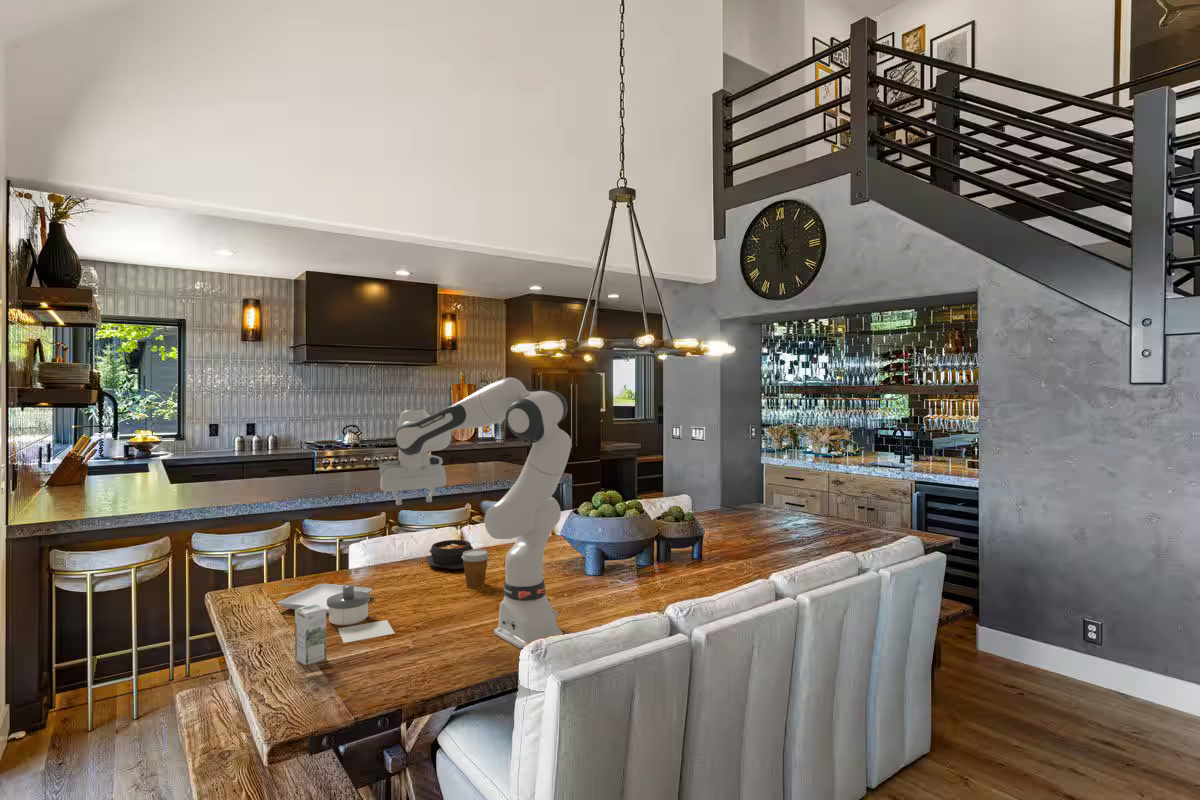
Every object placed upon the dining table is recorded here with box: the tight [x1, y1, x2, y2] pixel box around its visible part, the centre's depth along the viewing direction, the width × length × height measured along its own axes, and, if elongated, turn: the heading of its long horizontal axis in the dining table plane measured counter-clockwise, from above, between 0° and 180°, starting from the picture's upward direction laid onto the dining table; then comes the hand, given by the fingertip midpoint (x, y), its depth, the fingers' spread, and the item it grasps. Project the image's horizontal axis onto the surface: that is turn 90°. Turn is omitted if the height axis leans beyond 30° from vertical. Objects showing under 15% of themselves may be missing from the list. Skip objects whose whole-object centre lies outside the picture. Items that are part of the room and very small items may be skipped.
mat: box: [337, 619, 396, 644], centre depth 193 cm, size 12×14×1 cm
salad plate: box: [277, 583, 372, 615], centre depth 219 cm, size 21×21×3 cm
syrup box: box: [294, 604, 327, 666], centre depth 174 cm, size 6×6×14 cm
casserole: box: [426, 539, 474, 570], centre depth 263 cm, size 25×19×8 cm
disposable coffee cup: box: [462, 549, 490, 589], centre depth 237 cm, size 10×10×12 cm
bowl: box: [328, 602, 369, 626], centre depth 203 cm, size 11×11×6 cm
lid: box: [327, 584, 371, 609], centre depth 203 cm, size 12×12×5 cm
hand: (414, 503), depth 210 cm, fingers open, 8 cm apart
